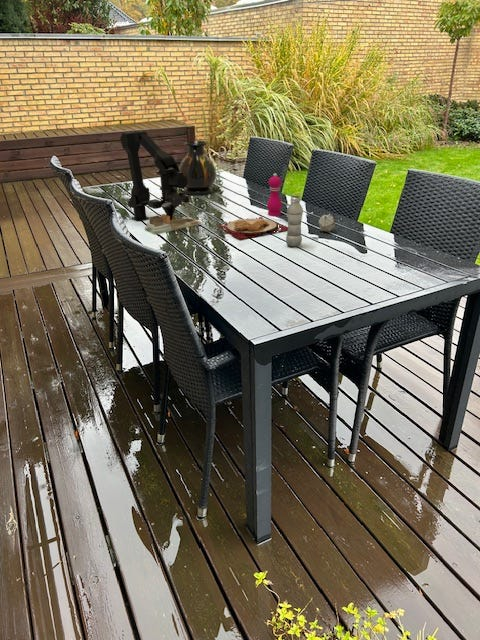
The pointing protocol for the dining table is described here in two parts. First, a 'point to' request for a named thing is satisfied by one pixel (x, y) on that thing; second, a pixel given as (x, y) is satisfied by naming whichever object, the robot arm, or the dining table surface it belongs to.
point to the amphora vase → (197, 169)
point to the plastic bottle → (294, 222)
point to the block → (156, 220)
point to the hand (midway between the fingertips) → (170, 220)
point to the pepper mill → (274, 196)
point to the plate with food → (251, 227)
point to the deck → (175, 225)
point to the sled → (165, 221)
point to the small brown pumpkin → (326, 223)
